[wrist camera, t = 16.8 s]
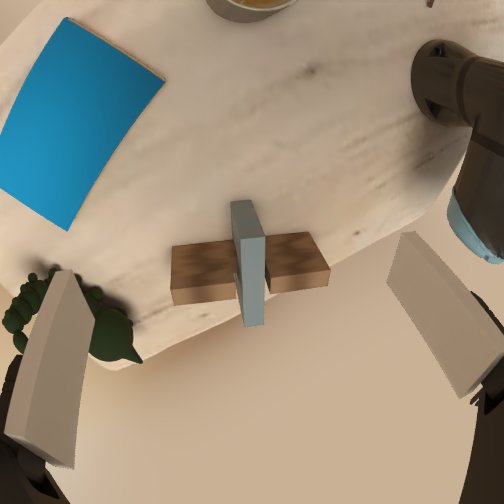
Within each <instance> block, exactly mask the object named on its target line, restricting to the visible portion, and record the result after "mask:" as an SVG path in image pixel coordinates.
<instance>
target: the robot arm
mask: <svg viewBox="0 0 504 504" xmlns="http://www.w3.org/2000/svg"><path fill="white" fill-rule="evenodd" d="M411 80H412V89H413V94H414V97H415V100H416V102H417V104H418V106H419V108H420V109H421V111H422V112H423V113H424V114H425V115H426V116H427V117H428V118H429V119H431V120H432V121H435V122H437V123H439V124H441V125H444V126H449V127H472V128H473V131H472V135H471V138H470V142H469V145H468V148H467V152H466V155H465V158H464V161H463V164H462V167H461V170H460V173H459V175H458V178H457V181H456V183H455V185H454V186H453V189H452V196H451V199H450V202H449V205H448V208H447V217H448V221H449V224H450V226H451V228H452V230H453V231H454V233H455V234H456V236H457V237H458V238H459V239H460V240H461V241H462V243H464V244H465V246H466V247H468V248H469V249H470V250H471V251H472V252H473V253H474V254H476V255H477V256H479V257H480V258H484V259H485V260H486V261H487V262H489V263H492V264H500V263H501V262H503V261H504V62H501V61H497V60H493V59H488V58H484V57H480V56H477V55H476V54H474V53H473V52H471V51H469V50H468V49H466V48H464V47H463V46H461V45H459V44H457V43H455V42H452V41H446V40H433V41H430V42H428V43H426V44H425V45H424V46H423V47H422V48H421V49H420V50H419V52H418V53H417V55H416V57H415V60H414V63H413V67H412V76H411ZM387 284H388V286H389V287H390V288H391V290H392V291H393V293H394V294H395V296H396V297H397V299H398V300H399V301H400V303H401V305H402V306H403V307H404V309H405V311H406V312H407V314H408V315H409V317H410V318H411V320H412V321H413V323H414V324H415V326H416V327H417V329H418V330H419V332H420V334H421V335H422V337H423V338H424V340H425V342H426V343H427V345H428V346H429V348H430V349H431V351H432V353H433V355H434V356H435V358H436V360H437V361H438V363H439V364H440V366H441V368H442V370H443V371H444V373H445V375H446V377H447V378H448V380H449V382H450V383H451V385H452V387H453V389H454V391H455V392H456V394H457V396H458V398H459V399H460V398H462V397H464V396H466V395H467V394H469V393H471V392H473V391H474V390H475V388H476V387H477V386H478V385H479V384H480V383H481V384H482V385H483V388H482V389H481V390H480V391H479V392H478V393H477V394H476V395H475V396H474V397H473V398H472V399H471V401H470V404H473V403H474V402H475V401H476V400H477V399H478V398H479V400H478V401H477V402H476V404H475V406H478V413H477V421H476V428H475V435H474V441H473V446H472V451H471V457H470V462H469V466H468V470H467V475H466V479H465V483H464V487H463V490H462V494H461V497H460V501H459V504H504V327H503V326H502V324H501V323H500V322H499V320H498V319H497V318H496V317H495V315H494V314H493V312H492V311H491V310H489V307H488V306H487V305H486V304H485V302H484V301H483V300H482V299H481V298H480V297H479V296H477V295H476V294H475V293H473V292H472V291H469V290H468V289H467V288H466V287H465V285H464V284H463V283H462V282H461V281H460V279H459V278H458V277H457V276H456V275H455V274H454V273H453V271H452V270H451V269H450V268H449V267H448V266H447V265H446V264H445V262H444V261H442V259H441V258H440V257H439V256H438V255H437V254H436V253H435V252H434V251H433V249H431V248H430V246H429V245H428V244H427V243H426V242H425V241H424V240H423V239H422V238H421V237H420V236H419V235H418V234H417V233H416V232H415V231H414V232H405V233H402V234H401V237H400V240H399V244H398V247H397V251H396V254H395V258H394V260H393V264H392V267H391V270H390V273H389V276H388V279H387ZM94 323H95V318H94V316H93V314H92V312H91V310H90V308H89V306H88V304H87V302H86V300H85V298H84V296H83V293H82V291H81V289H80V287H79V285H78V282H77V280H76V278H75V275H74V273H73V271H72V270H65V271H56V272H55V274H54V277H53V279H52V281H51V283H50V286H49V288H48V290H47V293H46V295H45V297H44V300H43V302H42V305H41V307H40V310H39V312H38V315H37V317H36V320H35V323H34V325H33V328H32V331H31V334H30V337H29V340H28V342H27V345H26V348H25V352H24V355H16V357H15V358H14V359H13V361H12V362H11V364H10V365H9V367H8V371H7V374H6V377H5V382H4V384H3V388H2V393H1V395H0V504H70V503H69V501H68V500H67V498H66V497H65V495H64V494H63V492H62V491H61V490H60V488H59V486H58V485H57V484H56V482H55V480H54V479H53V477H52V475H51V474H50V472H49V471H48V470H47V469H46V468H45V463H46V462H48V463H50V464H51V465H53V466H55V467H60V468H67V469H73V470H74V460H75V459H74V458H75V445H76V433H77V424H78V415H79V407H80V399H81V392H82V385H83V379H84V373H85V368H86V362H87V357H88V351H89V346H90V341H91V337H92V332H93V328H94Z"/></svg>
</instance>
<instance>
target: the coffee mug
mask: <svg viewBox="0 0 504 504" xmlns="http://www.w3.org/2000/svg"><path fill="white" fill-rule="evenodd" d="M206 1H207V3H208V5H209V6H210V7H211V8H212V10H213V11H214V12H215V13H217V14H218V15H220V16H221V17H223V18H225V19H228V20H231V21H234V22H241V23H249V22H256V21H259V20H262V19H265V18H267V17H268V16H270V15H272V14H274V13H276V12H278V11H280V10H282V9H284V8H286V7H288V6H290V5H292V4H293V3H295V2H296V1H297V0H206Z"/></svg>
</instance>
